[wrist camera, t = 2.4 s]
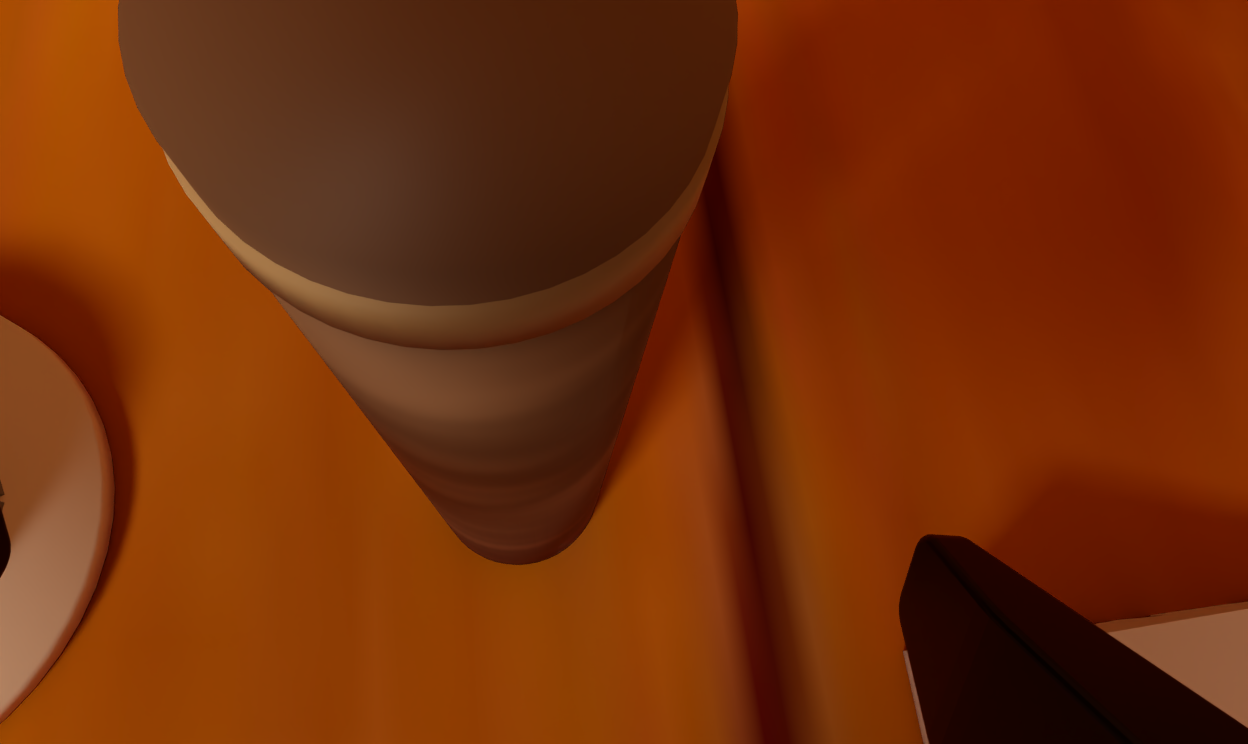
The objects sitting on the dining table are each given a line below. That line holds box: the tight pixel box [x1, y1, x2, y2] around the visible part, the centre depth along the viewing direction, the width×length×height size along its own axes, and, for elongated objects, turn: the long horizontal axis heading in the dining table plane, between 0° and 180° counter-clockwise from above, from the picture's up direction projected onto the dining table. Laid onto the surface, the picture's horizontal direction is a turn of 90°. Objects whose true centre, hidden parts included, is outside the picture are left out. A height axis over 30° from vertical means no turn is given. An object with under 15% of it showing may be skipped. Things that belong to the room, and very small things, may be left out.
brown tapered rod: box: [118, 0, 738, 565], centre depth 12 cm, size 4×4×15 cm
